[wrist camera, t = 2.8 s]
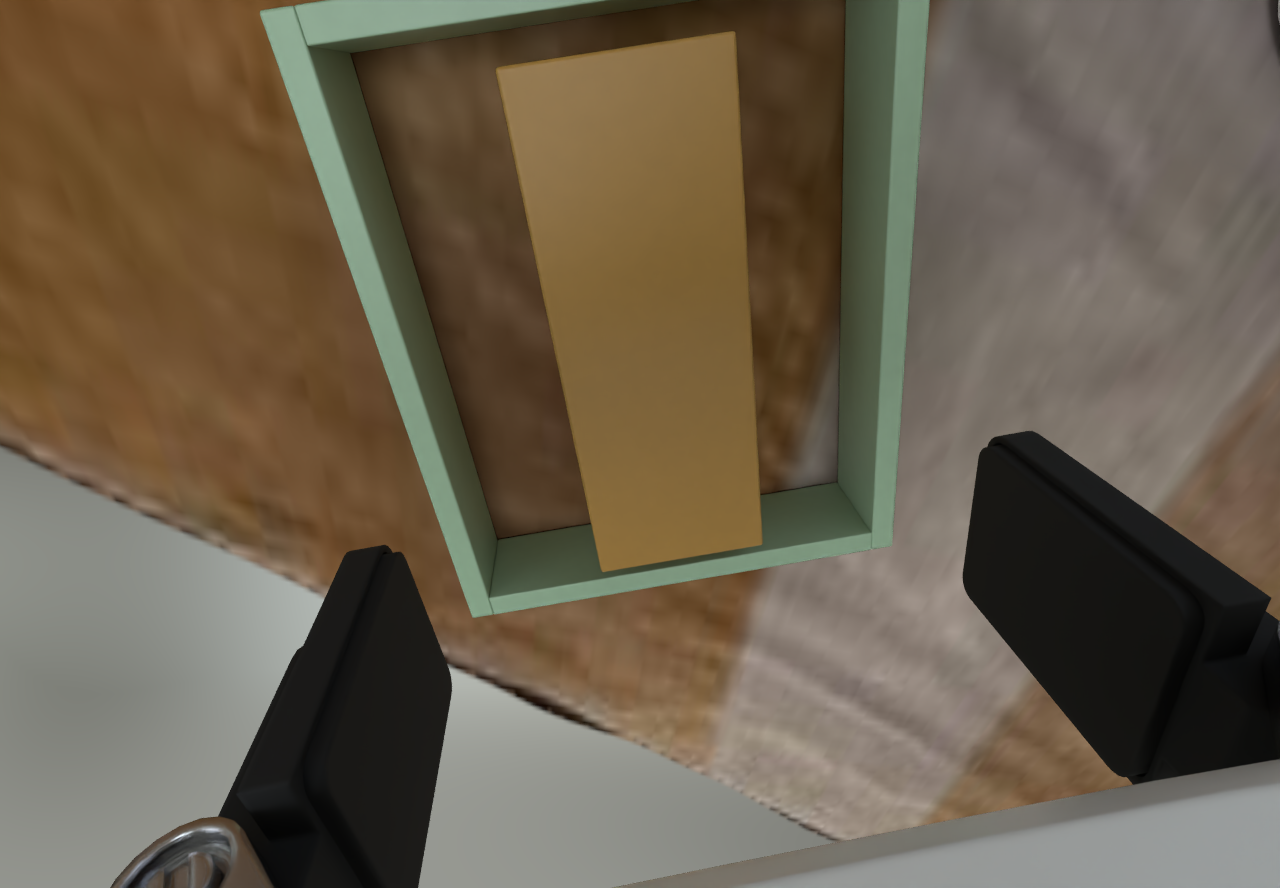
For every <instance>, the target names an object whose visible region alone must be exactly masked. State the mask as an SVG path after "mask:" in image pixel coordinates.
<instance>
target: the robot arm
mask: <svg viewBox="0 0 1280 888" xmlns="http://www.w3.org/2000/svg"><path fill="white" fill-rule="evenodd" d="M1278 18H1279V23H1280V0H1278ZM963 584H964V587H965V590H966V592H967V595H968V596H969V598H970V599H971V600H972V602H973V603H974V604H975V605H976V606H977V608H978V609H979V610H980V611H981V612H982V614H983V615H984V616H985V617H986V619H987V620H988V621H989V622H990V623H991V625H992V626H993V627H994V628H995V630H996V631H997V632H998V633H999V634H1000V636H1001V637H1002V638H1003V639H1004V640H1005V642H1006V643H1007V644H1008V645H1009V647H1010V648H1011V649H1012V650H1013V651H1014V653H1015V654H1016V655H1017V656H1018V658H1019V659H1020V660H1021V661H1022V662H1023V664H1024V665H1025V666H1026V667H1027V668H1028V670H1029V671H1030V672H1031V673H1032V675H1033V676H1034V677H1035V678H1036V679H1037V681H1038V682H1039V683H1040V684H1041V686H1042V687H1043V688H1044V689H1045V690H1046V692H1047V693H1048V694H1049V695H1050V696H1051V698H1052V699H1053V700H1054V701H1055V703H1056V704H1057V705H1058V706H1059V707H1060V709H1061V710H1062V711H1063V712H1064V714H1065V715H1066V716H1067V717H1068V718H1069V720H1070V721H1071V722H1072V723H1073V724H1074V726H1075V727H1076V728H1077V729H1078V731H1079V732H1080V733H1081V734H1082V735H1083V737H1084V738H1085V739H1086V740H1087V742H1088V743H1089V744H1090V745H1091V746H1092V748H1093V749H1094V750H1095V751H1096V752H1097V754H1098V755H1099V756H1100V757H1101V759H1102V760H1103V761H1104V762H1105V763H1106V765H1107V766H1108V767H1109V768H1110V769H1111V770H1112V771H1113V772H1114V773H1116V774H1117V775H1119V776H1122V777H1127V778H1128V779H1129V780H1130V781H1131V782H1132V784H1133V785H1130V786H1125V787H1120V788H1114V789H1109V790H1104V791H1099V792H1094V793H1088V794H1083V795H1078V796H1073V797H1068V798H1062V799H1057V800H1052V801H1047V802H1042V803H1036V804H1031V805H1026V806H1021V807H1016V808H1010V809H1005V810H1000V811H995V812H990V813H984V814H979V815H974V816H969V817H964V818H959V819H953V820H948V821H943V822H938V823H933V824H928V825H923V826H918V827H913V828H908V829H903V830H898V831H893V832H888V833H882V834H877V835H872V836H867V837H862V838H857V839H852V840H847V841H842V842H837V843H832V844H827V845H822V846H817V847H812V848H807V849H802V850H797V851H792V852H787V853H782V854H777V855H772V856H767V857H762V858H757V859H752V860H747V861H742V862H737V863H731V864H727V865H722V866H717V867H712V868H707V869H702V870H697V871H692V872H687V873H683V874H677V875H673V876H668V877H663V878H658V879H653V880H648V881H643V882H638V883H633V884H628V885H624V886H619V887H614V888H1280V621H1278V620H1277V619H1276V618H1274V617H1273V616H1272V615H1270V614H1269V613H1267V612H1266V609H1267V606H1268V604H1269V602H1270V600H1271V597H1269V596H1268V595H1266V594H1265V593H1264V592H1262V591H1261V590H1259V589H1258V588H1257V587H1255V586H1254V585H1252V584H1251V583H1249V582H1248V581H1247V580H1245V579H1244V578H1242V577H1241V576H1240V575H1238V574H1237V573H1235V572H1234V571H1232V570H1231V569H1230V568H1228V567H1227V566H1225V565H1224V564H1222V563H1221V562H1220V561H1218V560H1217V559H1215V558H1214V557H1213V556H1211V555H1210V554H1208V553H1207V552H1205V551H1204V550H1203V549H1201V548H1200V547H1198V546H1197V545H1195V544H1194V543H1193V542H1191V541H1190V540H1188V539H1187V538H1186V537H1184V536H1183V535H1181V534H1180V533H1178V532H1177V531H1176V530H1174V529H1173V528H1171V527H1170V526H1168V525H1167V524H1166V523H1164V522H1163V521H1161V520H1160V519H1159V518H1157V517H1156V516H1154V515H1153V514H1151V513H1150V512H1149V511H1147V510H1146V509H1144V508H1143V507H1142V506H1140V505H1139V504H1137V503H1136V502H1134V501H1133V500H1132V499H1130V498H1129V497H1127V496H1126V495H1124V494H1123V493H1122V492H1120V491H1119V490H1117V489H1116V488H1115V487H1113V486H1112V485H1110V484H1109V483H1107V482H1106V481H1105V480H1103V479H1102V478H1100V477H1099V476H1097V475H1096V474H1095V473H1093V472H1092V471H1090V470H1089V469H1088V468H1086V467H1085V466H1083V465H1082V464H1080V463H1079V462H1078V461H1076V460H1075V459H1073V458H1072V457H1070V456H1069V455H1068V454H1066V453H1065V452H1063V451H1062V450H1061V449H1059V448H1058V447H1056V446H1055V445H1053V444H1052V443H1051V442H1049V441H1048V440H1046V439H1045V438H1043V437H1042V436H1041V435H1039V434H1038V433H1036V432H1033V431H1025V432H1019V433H1014V434H1008V435H1003V436H997V437H994V438H993V439H991V441H990V442H989V444H988V447H986V448H984V449H982V450H981V452H980V454H979V459H978V466H977V474H976V481H975V488H974V496H973V503H972V510H971V518H970V525H969V532H968V540H967V547H966V554H965V562H964V569H963ZM451 692H452V682H451V676H450V671H449V668H448V666H447V663H446V660H445V658H444V655H443V653H442V650H441V648H440V645H439V643H438V640H437V637H436V635H435V632H434V630H433V627H432V625H431V622H430V620H429V617H428V615H427V612H426V609H425V607H424V604H423V602H422V599H421V597H420V594H419V592H418V589H417V587H416V584H415V581H414V579H413V576H412V574H411V571H410V569H409V566H408V564H407V561H406V559H405V557H404V555H403V554H402V553H401V552H395V553H392V551H391V549H390V548H389V547H388V546H386V545H381V546H376V547H370V548H364V549H359V550H353V551H349V552H347V553H346V555H345V556H344V558H343V560H342V562H341V564H340V567H339V569H338V571H337V573H336V575H335V578H334V580H333V582H332V584H331V586H330V589H329V591H328V593H327V595H326V597H325V599H324V602H323V604H322V606H321V608H320V611H319V613H318V615H317V617H316V619H315V622H314V624H313V626H312V628H311V630H310V632H309V635H308V637H307V639H306V641H305V643H304V646H302V647H301V648H299V649H298V650H297V651H296V653H295V655H294V656H293V658H292V660H291V662H290V664H289V666H288V668H287V670H286V672H285V674H284V677H283V679H282V681H281V683H280V685H279V687H278V689H277V691H276V694H275V696H274V698H273V700H272V702H271V704H270V706H269V709H268V711H267V713H266V715H265V717H264V719H263V721H262V724H261V726H260V728H259V730H258V732H257V734H256V736H255V739H254V741H253V743H252V745H251V747H250V749H249V751H248V754H247V756H246V758H245V760H244V762H243V765H242V766H241V769H240V771H239V773H238V775H237V777H236V779H235V782H234V783H233V786H232V788H231V790H230V792H229V794H228V797H227V799H226V801H225V803H224V805H223V807H222V809H221V811H220V814H219V816H218V817H210V818H201V819H198V820H195V821H193V822H190V823H187V824H185V825H182V826H179V827H177V828H176V829H174V830H172V831H171V832H169V833H167V834H166V835H164V836H162V837H161V838H159V839H157V840H156V841H155V842H153V843H152V844H151V845H150V846H149V847H147V848H146V849H145V850H144V851H143V852H141V853H140V854H139V855H138V856H136V857H135V858H134V860H132V862H131V863H130V864H129V865H128V866H127V867H126V868H125V869H124V870H123V872H122V873H121V874H120V875H119V876H118V877H117V878H116V880H115V881H114V883H113V884H112V886H111V887H110V888H418V885H419V878H420V873H421V867H422V861H423V856H424V850H425V844H426V838H427V833H428V827H429V821H430V815H431V810H432V803H433V798H434V792H435V787H436V780H437V775H438V769H439V763H440V758H441V752H442V746H443V740H444V735H445V729H446V723H447V717H448V712H449V706H450V700H451Z"/></svg>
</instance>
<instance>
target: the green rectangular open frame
mask: <svg viewBox="0 0 1280 888" xmlns="http://www.w3.org/2000/svg"><path fill="white" fill-rule="evenodd" d="M690 1H697V0H326V1H319V2H312V3H306V4H299V5H296V6H295V7H294V6H287V7H280V8H273V9H267V10H262V11H260V15H261V18H262V21H263V24H264V27H265V29H266V32H267V35H268V38H269V41H270V44H271V46H272V49H273V52H274V55H275V58H276V61H277V64H278V66H279V69H280V72H281V75H282V78H283V81H284V83H285V86H286V89H287V92H288V95H289V98H290V100H291V103H292V106H293V109H294V112H295V115H296V117H297V120H298V123H299V126H300V129H301V132H302V135H303V137H304V140H305V143H306V146H307V149H308V152H309V154H310V157H311V160H312V163H313V166H314V169H315V171H316V174H317V177H318V180H319V183H320V186H321V189H322V191H323V194H324V197H325V200H326V203H327V206H328V208H329V211H330V214H331V217H332V220H333V223H334V225H335V228H336V231H337V234H338V237H339V240H340V242H341V245H342V248H343V251H344V254H345V257H346V260H347V262H348V265H349V268H350V271H351V274H352V277H353V279H354V282H355V285H356V288H357V291H358V294H359V296H360V299H361V302H362V305H363V308H364V311H365V314H366V316H367V319H368V322H369V325H370V328H371V331H372V333H373V336H374V339H375V342H376V345H377V348H378V350H379V353H380V356H381V359H382V362H383V365H384V367H385V370H386V373H387V376H388V379H389V382H390V385H391V387H392V390H393V393H394V396H395V399H396V402H397V404H398V407H399V410H400V413H401V416H402V419H403V421H404V424H405V427H406V430H407V433H408V436H409V439H410V441H411V444H412V447H413V450H414V453H415V456H416V458H417V461H418V464H419V467H420V470H421V473H422V475H423V478H424V481H425V484H426V487H427V490H428V492H429V495H430V498H431V501H432V504H433V507H434V510H435V512H436V515H437V518H438V521H439V524H440V527H441V529H442V532H443V535H444V538H445V541H446V544H447V546H448V549H449V552H450V555H451V558H452V561H453V564H454V566H455V569H456V572H457V575H458V578H459V581H460V583H461V586H462V589H463V592H464V595H465V598H466V600H467V603H468V606H469V609H470V612H471V615H472V617H473V618H475V617H481V616H486V615H492V614H493V613H494V614H499V613H505V612H511V611H517V610H523V609H528V608H534V607H540V606H546V605H552V604H558V603H563V602H569V601H575V600H581V599H587V598H593V597H598V596H604V595H610V594H616V593H622V592H627V591H633V590H639V589H645V588H651V587H657V586H662V585H668V584H674V583H680V582H686V581H692V580H697V579H703V578H709V577H715V576H721V575H726V574H732V573H738V572H744V571H750V570H756V569H761V568H767V567H773V566H779V565H785V564H791V563H796V562H802V561H808V560H814V559H820V558H825V557H831V556H837V555H843V554H849V553H855V552H860V551H866V550H871V549H877V548H883V547H889V546H892V538H893V523H894V509H895V494H896V480H897V465H898V451H899V436H900V422H901V407H902V393H903V378H904V364H905V349H906V335H907V320H908V306H909V291H910V277H911V263H912V248H913V234H914V219H915V205H916V190H917V176H918V161H919V147H920V132H921V118H922V103H923V89H924V74H925V60H926V45H927V31H928V16H929V2H930V0H846V20H845V80H844V139H843V199H842V259H841V318H840V378H839V438H838V483H831V484H825V485H819V486H813V487H807V488H801V489H795V490H789V491H783V492H777V493H771V494H766V495H760V499H761V517H762V536H763V543H762V545H759V546H753V547H747V548H741V549H735V550H730V551H724V552H718V553H712V554H706V555H700V556H694V557H689V558H683V559H677V560H671V561H665V562H659V563H653V564H648V565H642V566H636V567H630V568H624V569H618V570H613V571H607V572H602V571H601V568H600V563H599V559H598V554H597V549H596V544H595V540H594V535H593V530H592V526H591V524H588V525H582V526H576V527H571V528H565V529H559V530H553V531H547V532H541V533H535V534H529V535H523V536H517V537H511V538H506V539H500V540H497V537H496V534H495V530H494V527H493V524H492V521H491V517H490V514H489V511H488V507H487V504H486V501H485V497H484V494H483V491H482V488H481V484H480V481H479V478H478V474H477V471H476V468H475V464H474V461H473V458H472V454H471V451H470V448H469V445H468V441H467V438H466V435H465V431H464V428H463V425H462V421H461V418H460V415H459V412H458V408H457V405H456V402H455V398H454V395H453V392H452V388H451V385H450V382H449V379H448V375H447V372H446V369H445V365H444V362H443V359H442V355H441V352H440V349H439V346H438V342H437V339H436V336H435V332H434V329H433V326H432V322H431V319H430V316H429V313H428V309H427V306H426V303H425V299H424V296H423V293H422V289H421V286H420V283H419V279H418V276H417V273H416V270H415V266H414V263H413V260H412V256H411V253H410V250H409V246H408V243H407V240H406V237H405V233H404V230H403V227H402V223H401V220H400V217H399V213H398V210H397V207H396V204H395V200H394V197H393V194H392V190H391V187H390V184H389V180H388V177H387V174H386V171H385V167H384V164H383V161H382V157H381V154H380V151H379V147H378V144H377V141H376V137H375V134H374V131H373V128H372V124H371V121H370V118H369V114H368V111H367V108H366V104H365V101H364V98H363V95H362V91H361V88H360V85H359V81H358V78H357V75H356V71H355V68H354V65H353V62H352V58H351V55H350V53H355V52H362V51H368V50H375V49H382V48H388V47H395V46H401V45H408V44H414V43H421V42H428V41H434V40H441V39H447V38H454V37H460V36H467V35H473V34H480V33H487V32H493V31H500V30H506V29H513V28H519V27H526V26H533V25H539V24H546V23H552V22H559V21H565V20H572V19H579V18H585V17H592V16H598V15H605V14H611V13H618V12H624V11H631V10H638V9H644V8H651V7H657V6H664V5H670V4H677V3H684V2H690Z"/></svg>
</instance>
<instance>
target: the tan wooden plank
mask: <svg viewBox="0 0 1280 888" xmlns="http://www.w3.org/2000/svg"><path fill="white" fill-rule="evenodd" d="M496 76H497V81H498V85H499V90H500V95H501V100H502V104H503V109H504V114H505V119H506V123H507V128H508V133H509V138H510V142H511V147H512V152H513V156H514V161H515V166H516V171H517V175H518V180H519V185H520V190H521V194H522V199H523V204H524V208H525V213H526V218H527V223H528V227H529V232H530V237H531V242H532V246H533V251H534V256H535V261H536V265H537V270H538V275H539V279H540V284H541V289H542V294H543V298H544V303H545V308H546V313H547V317H548V322H549V327H550V332H551V336H552V341H553V346H554V350H555V355H556V360H557V365H558V369H559V374H560V379H561V384H562V388H563V393H564V398H565V402H566V407H567V412H568V417H569V421H570V426H571V431H572V436H573V440H574V445H575V450H576V455H577V459H578V464H579V469H580V473H581V478H582V483H583V488H584V492H585V497H586V502H587V507H588V511H589V516H590V521H591V526H592V530H593V535H594V540H595V544H596V549H597V554H598V559H599V563H600V568H601V571H602V572H607V571H613V570H618V569H624V568H630V567H636V566H642V565H648V564H653V563H659V562H665V561H671V560H677V559H683V558H689V557H694V556H700V555H706V554H712V553H718V552H724V551H730V550H735V549H741V548H747V547H753V546H759V545H762V543H763V536H762V517H761V499H760V480H759V461H758V442H757V423H756V404H755V385H754V367H753V348H752V329H751V310H750V291H749V272H748V253H747V235H746V216H745V197H744V178H743V159H742V140H741V121H740V102H739V84H738V65H737V46H736V34H735V32H734V31H728V32H721V33H715V34H708V35H702V36H695V37H689V38H682V39H676V40H669V41H663V42H656V43H650V44H643V45H637V46H630V47H624V48H617V49H611V50H604V51H598V52H591V53H585V54H578V55H572V56H565V57H559V58H552V59H546V60H539V61H533V62H526V63H520V64H513V65H506V66H500V67H498V68H496Z"/></svg>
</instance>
